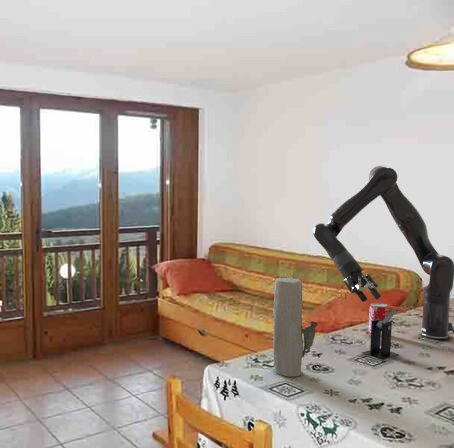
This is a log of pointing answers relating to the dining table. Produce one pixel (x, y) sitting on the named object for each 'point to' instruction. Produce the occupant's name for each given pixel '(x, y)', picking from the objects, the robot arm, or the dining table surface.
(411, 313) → the dining table surface
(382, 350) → the clamp bracket
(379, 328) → the clamp lever
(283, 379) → the dining table surface
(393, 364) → the dining table surface
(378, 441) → the dining table surface
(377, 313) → the soda can
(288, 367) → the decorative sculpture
